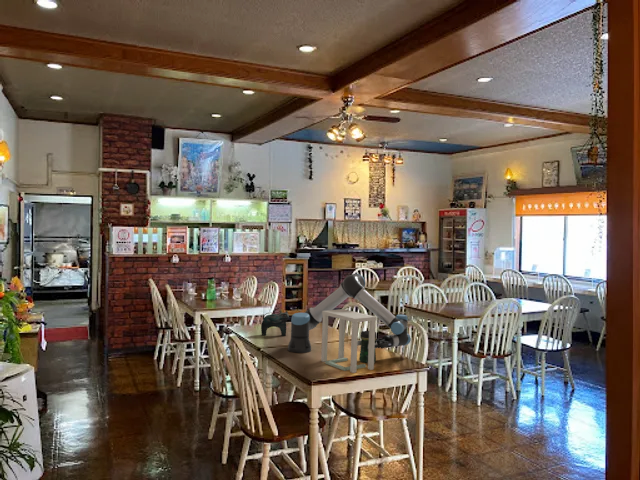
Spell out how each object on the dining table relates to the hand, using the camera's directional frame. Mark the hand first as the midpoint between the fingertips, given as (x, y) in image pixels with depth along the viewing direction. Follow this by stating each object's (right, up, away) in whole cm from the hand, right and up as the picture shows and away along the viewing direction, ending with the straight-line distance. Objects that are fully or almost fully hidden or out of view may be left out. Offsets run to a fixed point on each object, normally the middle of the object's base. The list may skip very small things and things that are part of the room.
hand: (362, 345), depth 305 cm
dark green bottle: (+3, -11, +3) cm, 12 cm away
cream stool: (-10, -10, -7) cm, 16 cm away
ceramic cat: (-59, -7, +69) cm, 91 cm away
